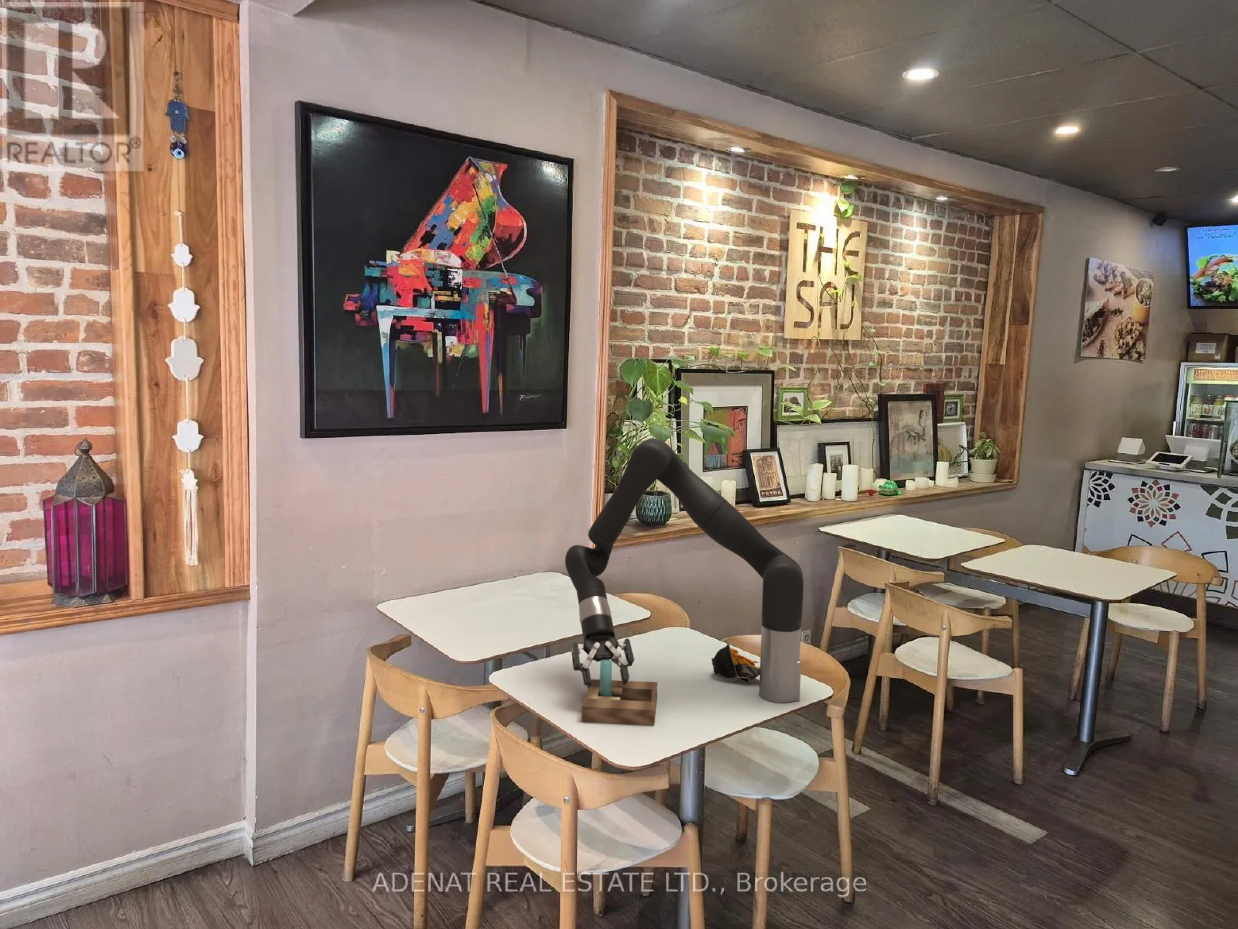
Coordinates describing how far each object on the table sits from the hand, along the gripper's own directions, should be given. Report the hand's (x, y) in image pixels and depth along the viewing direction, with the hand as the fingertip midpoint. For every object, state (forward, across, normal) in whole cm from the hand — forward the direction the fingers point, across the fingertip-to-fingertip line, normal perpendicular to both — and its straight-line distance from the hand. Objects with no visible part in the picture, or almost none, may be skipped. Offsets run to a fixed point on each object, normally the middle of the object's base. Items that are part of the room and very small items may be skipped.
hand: (607, 684), depth 186 cm
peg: (+3, 0, +5) cm, 6 cm away
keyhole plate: (+4, +3, +4) cm, 7 cm away
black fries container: (-3, +39, +12) cm, 41 cm away
